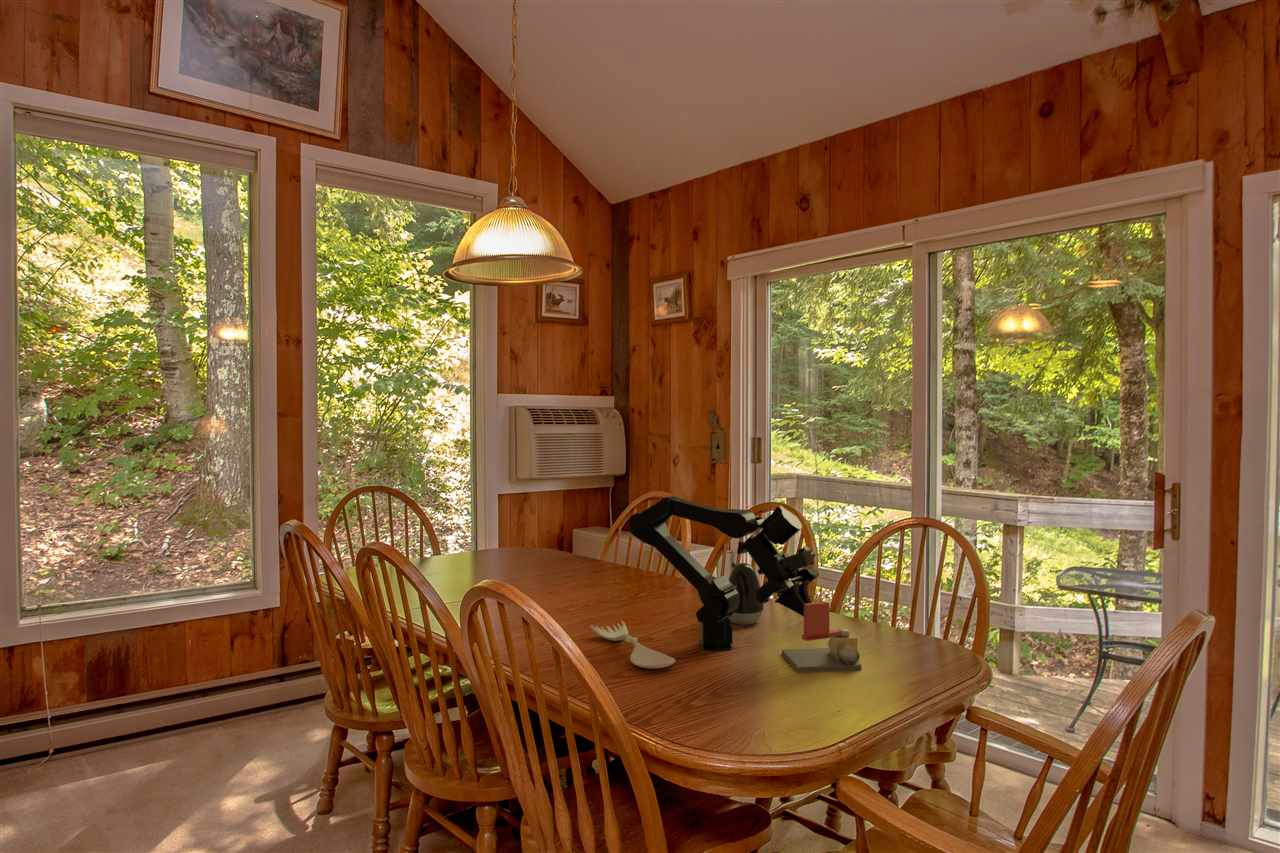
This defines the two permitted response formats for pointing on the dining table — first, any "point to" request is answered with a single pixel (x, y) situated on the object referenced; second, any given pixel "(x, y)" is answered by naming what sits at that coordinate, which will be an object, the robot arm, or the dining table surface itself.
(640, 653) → the white double-ended utensil part
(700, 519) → the robot arm
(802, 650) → the mounting board
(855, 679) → the dining table surface
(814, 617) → the valve lever
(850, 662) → the ball valve
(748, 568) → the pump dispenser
